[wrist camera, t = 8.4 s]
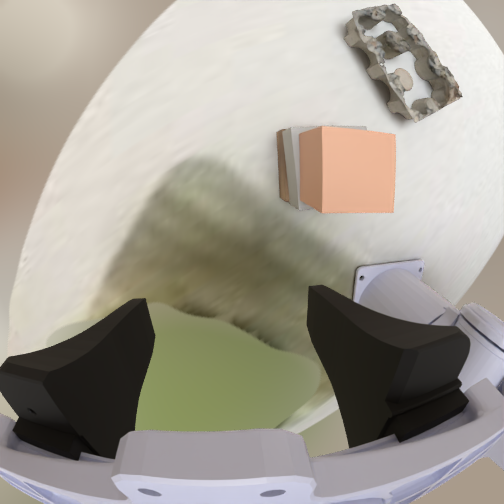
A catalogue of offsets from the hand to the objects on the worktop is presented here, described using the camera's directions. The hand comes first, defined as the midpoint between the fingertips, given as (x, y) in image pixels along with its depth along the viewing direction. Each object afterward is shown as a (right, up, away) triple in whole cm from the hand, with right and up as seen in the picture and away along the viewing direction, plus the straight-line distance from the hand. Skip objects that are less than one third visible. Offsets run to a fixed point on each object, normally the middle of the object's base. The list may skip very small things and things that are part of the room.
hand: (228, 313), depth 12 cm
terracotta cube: (+6, +8, +4) cm, 10 cm away
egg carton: (+13, +19, +6) cm, 24 cm away
